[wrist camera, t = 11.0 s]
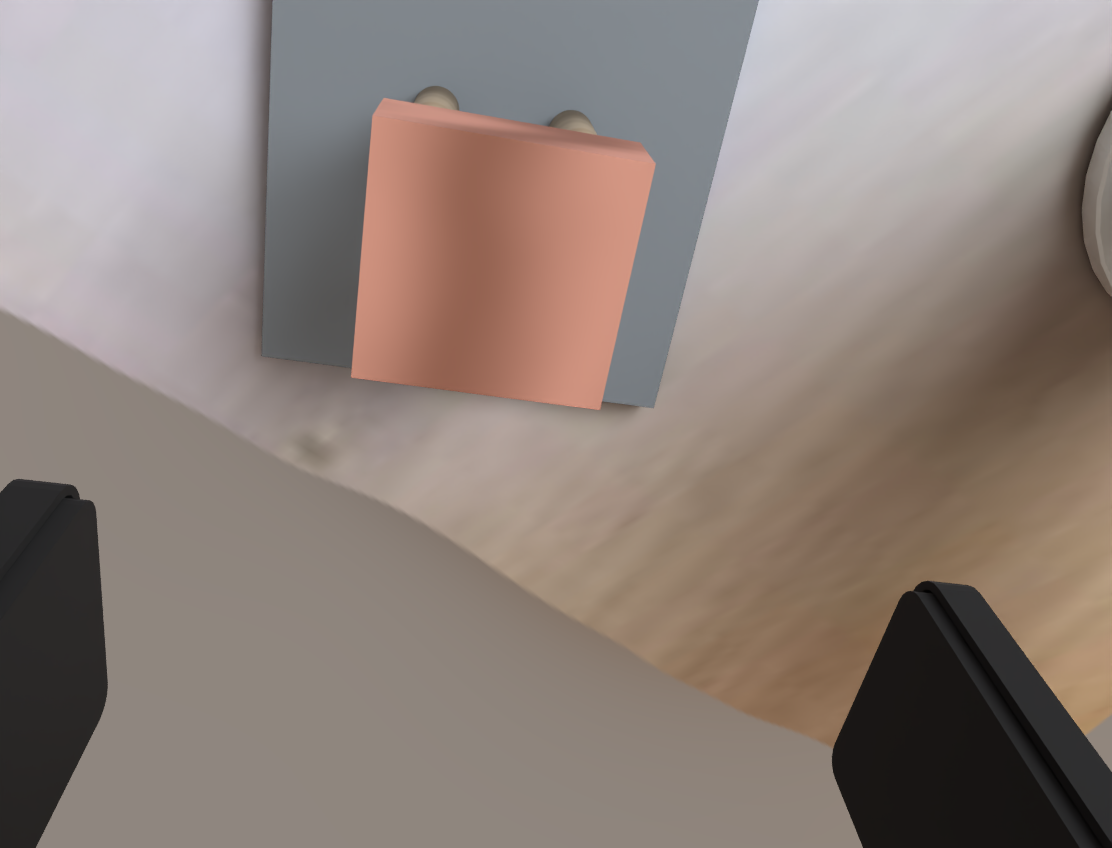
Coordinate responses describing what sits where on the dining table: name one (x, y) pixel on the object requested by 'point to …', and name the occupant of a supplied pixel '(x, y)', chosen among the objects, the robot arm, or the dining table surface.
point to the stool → (495, 251)
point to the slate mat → (498, 91)
